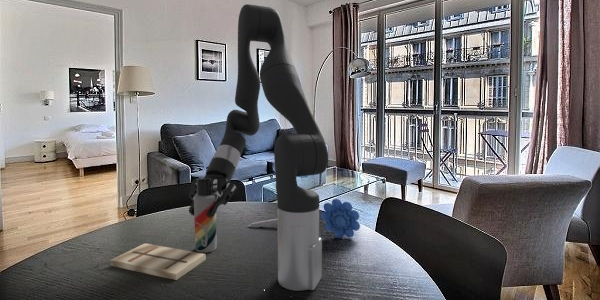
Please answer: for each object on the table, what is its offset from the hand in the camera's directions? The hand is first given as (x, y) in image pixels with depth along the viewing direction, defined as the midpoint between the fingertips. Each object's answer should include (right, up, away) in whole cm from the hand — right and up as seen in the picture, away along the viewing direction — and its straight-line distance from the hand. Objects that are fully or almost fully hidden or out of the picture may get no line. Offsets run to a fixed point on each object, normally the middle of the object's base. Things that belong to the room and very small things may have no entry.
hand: (200, 215), depth 91 cm
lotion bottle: (+1, -10, +3) cm, 10 cm away
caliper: (+20, -8, +20) cm, 29 cm away
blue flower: (+39, -9, +10) cm, 41 cm away
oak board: (-9, -11, -5) cm, 15 cm away
